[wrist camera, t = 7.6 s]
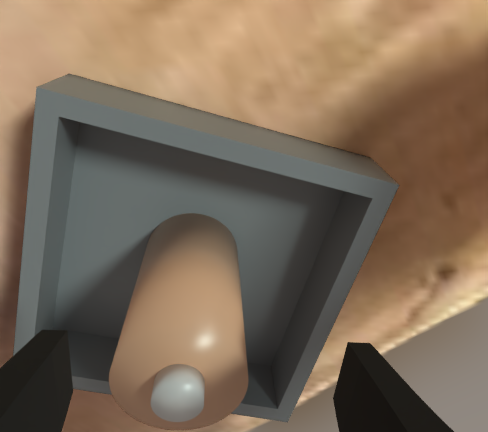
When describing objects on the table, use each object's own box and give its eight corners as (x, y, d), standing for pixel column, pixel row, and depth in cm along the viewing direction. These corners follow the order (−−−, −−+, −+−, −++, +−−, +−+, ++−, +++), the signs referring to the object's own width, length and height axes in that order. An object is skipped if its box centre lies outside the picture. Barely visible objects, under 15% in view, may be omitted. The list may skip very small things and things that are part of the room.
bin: (370, 157, 20) (399, 185, 17) (278, 371, 25) (287, 422, 22) (69, 73, 18) (36, 87, 14) (39, 328, 23) (11, 379, 20)
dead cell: (237, 212, 20) (251, 344, 12) (237, 290, 22) (249, 448, 14) (142, 213, 20) (92, 350, 12) (150, 292, 22) (112, 455, 14)
